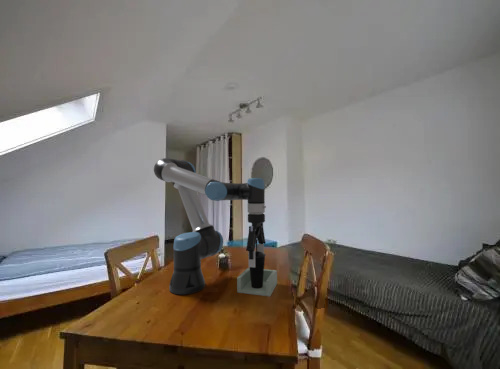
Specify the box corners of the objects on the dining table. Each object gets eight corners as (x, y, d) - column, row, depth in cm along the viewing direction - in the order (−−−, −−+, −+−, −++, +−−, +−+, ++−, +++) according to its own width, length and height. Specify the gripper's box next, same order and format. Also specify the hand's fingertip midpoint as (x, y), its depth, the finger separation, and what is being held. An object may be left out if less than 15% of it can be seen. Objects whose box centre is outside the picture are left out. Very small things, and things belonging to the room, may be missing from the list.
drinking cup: (266, 283, 103) (266, 238, 104) (264, 290, 96) (264, 241, 97) (250, 282, 105) (249, 237, 106) (246, 289, 97) (246, 241, 98)
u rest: (237, 292, 97) (237, 277, 97) (248, 280, 110) (247, 267, 110) (270, 296, 92) (269, 281, 93) (277, 283, 106) (276, 270, 106)
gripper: (256, 216, 89) (256, 272, 88) (271, 211, 113) (271, 255, 112) (238, 215, 91) (238, 270, 90) (256, 211, 115) (256, 254, 114)
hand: (256, 262), depth 101 cm, fingers open, 13 cm apart
